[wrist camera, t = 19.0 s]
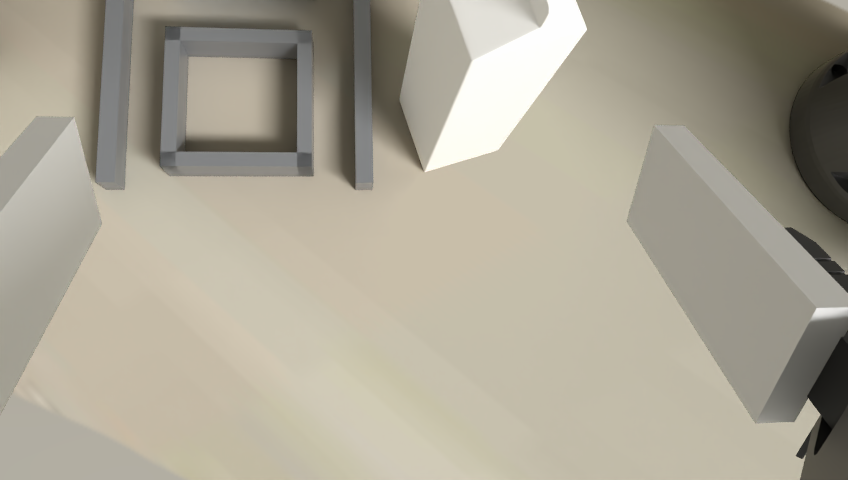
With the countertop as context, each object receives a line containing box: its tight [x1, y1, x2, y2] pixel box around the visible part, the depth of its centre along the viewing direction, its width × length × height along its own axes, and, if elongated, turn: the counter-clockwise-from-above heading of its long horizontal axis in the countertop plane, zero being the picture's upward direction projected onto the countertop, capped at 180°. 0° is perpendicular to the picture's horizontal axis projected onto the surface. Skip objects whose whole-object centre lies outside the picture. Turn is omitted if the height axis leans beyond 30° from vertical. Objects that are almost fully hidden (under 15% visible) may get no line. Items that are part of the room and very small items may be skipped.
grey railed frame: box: [96, 0, 373, 190], centre depth 48 cm, size 18×26×3 cm
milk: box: [399, 0, 587, 172], centre depth 39 cm, size 6×6×22 cm
